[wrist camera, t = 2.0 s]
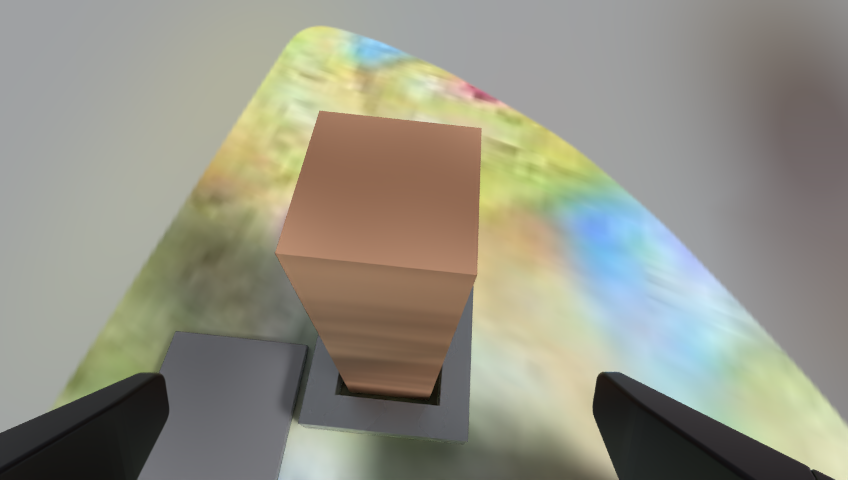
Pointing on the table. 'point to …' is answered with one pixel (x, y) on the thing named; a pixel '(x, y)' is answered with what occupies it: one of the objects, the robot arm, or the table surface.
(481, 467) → the table surface
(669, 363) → the table surface
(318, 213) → the brown rectangular block
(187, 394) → the felt pad
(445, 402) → the socket
